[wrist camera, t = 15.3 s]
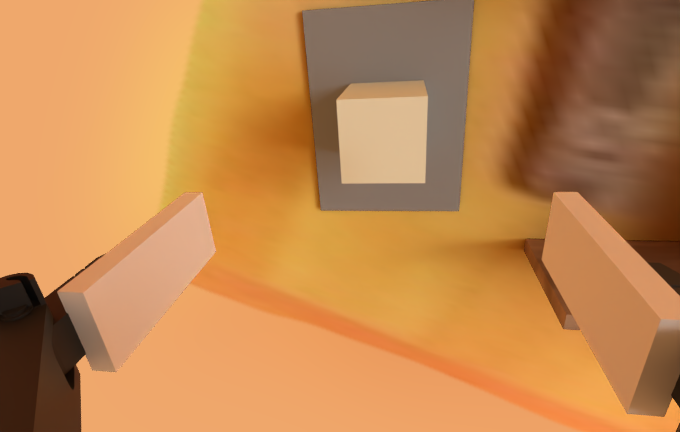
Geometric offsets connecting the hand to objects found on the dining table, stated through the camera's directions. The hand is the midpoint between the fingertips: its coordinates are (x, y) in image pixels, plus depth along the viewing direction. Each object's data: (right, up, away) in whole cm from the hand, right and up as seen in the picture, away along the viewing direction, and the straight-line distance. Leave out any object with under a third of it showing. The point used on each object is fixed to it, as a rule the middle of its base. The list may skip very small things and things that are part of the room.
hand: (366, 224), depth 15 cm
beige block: (+3, +8, +16) cm, 18 cm away
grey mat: (+3, +8, +17) cm, 19 cm away
